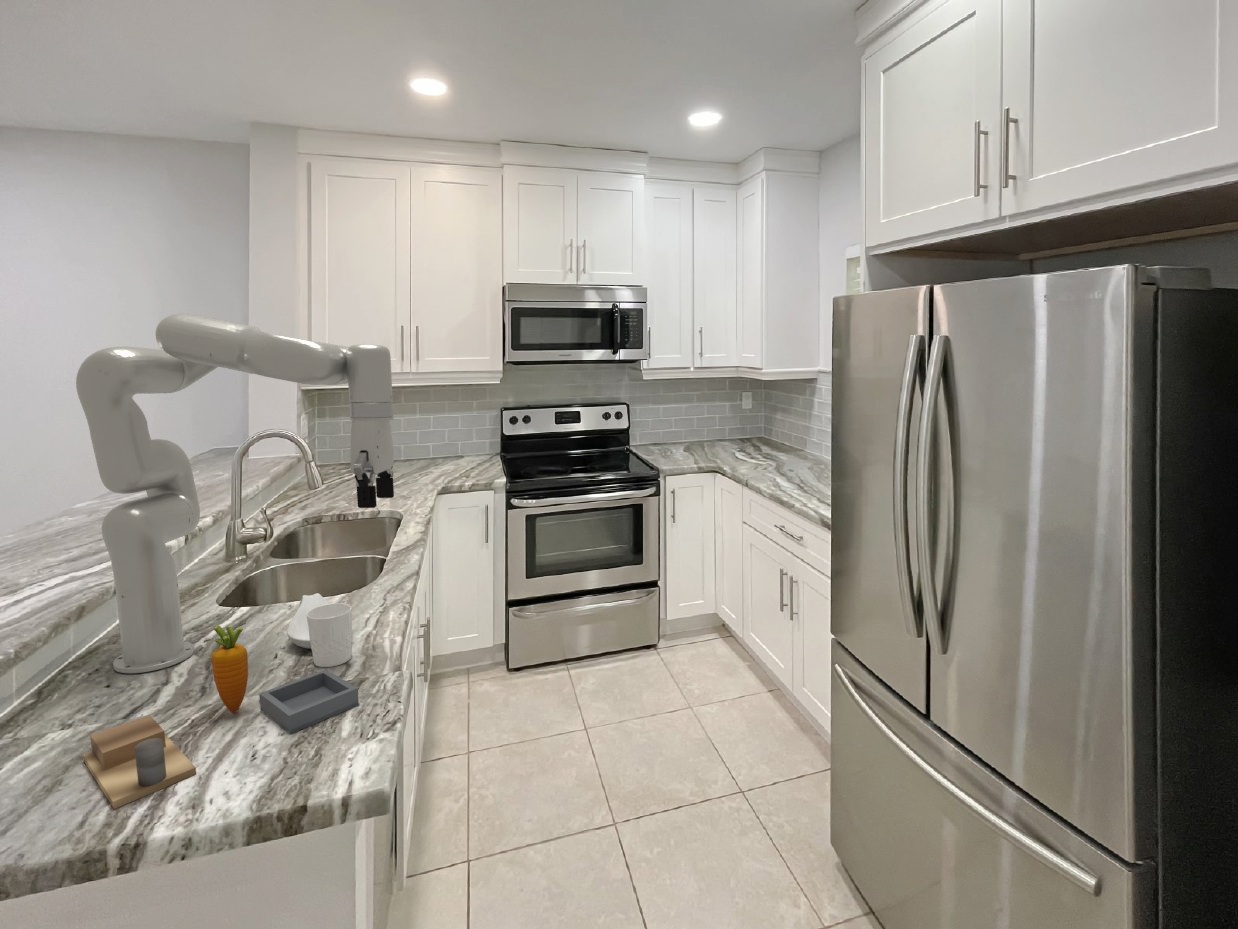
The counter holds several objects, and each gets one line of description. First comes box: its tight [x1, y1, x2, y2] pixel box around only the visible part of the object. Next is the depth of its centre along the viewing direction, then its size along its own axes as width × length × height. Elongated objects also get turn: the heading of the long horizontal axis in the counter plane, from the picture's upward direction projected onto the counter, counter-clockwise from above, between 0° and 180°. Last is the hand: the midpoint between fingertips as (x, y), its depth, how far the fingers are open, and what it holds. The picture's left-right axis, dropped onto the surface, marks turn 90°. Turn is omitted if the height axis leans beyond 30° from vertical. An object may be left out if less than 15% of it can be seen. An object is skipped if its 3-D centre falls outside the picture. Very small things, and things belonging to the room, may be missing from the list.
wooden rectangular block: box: [89, 714, 166, 770], centre depth 89 cm, size 7×7×2 cm
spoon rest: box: [286, 592, 331, 650], centre depth 132 cm, size 24×12×7 cm, turn 34°
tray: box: [258, 668, 360, 735], centre depth 102 cm, size 11×11×3 cm
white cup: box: [306, 602, 353, 668], centre depth 119 cm, size 8×8×10 cm
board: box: [82, 733, 197, 810], centre depth 86 cm, size 16×9×6 cm, turn 51°
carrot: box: [210, 625, 249, 714], centre depth 99 cm, size 5×5×15 cm
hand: (376, 502), depth 117 cm, fingers open, 9 cm apart
